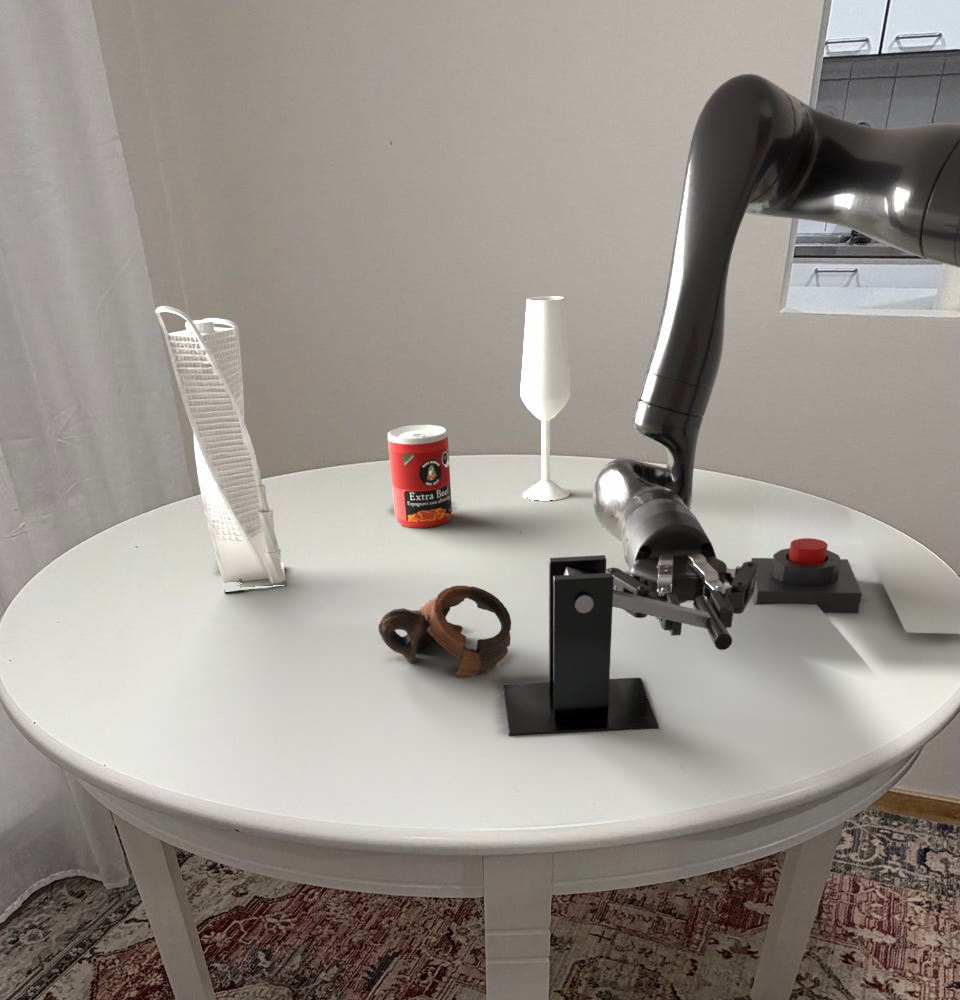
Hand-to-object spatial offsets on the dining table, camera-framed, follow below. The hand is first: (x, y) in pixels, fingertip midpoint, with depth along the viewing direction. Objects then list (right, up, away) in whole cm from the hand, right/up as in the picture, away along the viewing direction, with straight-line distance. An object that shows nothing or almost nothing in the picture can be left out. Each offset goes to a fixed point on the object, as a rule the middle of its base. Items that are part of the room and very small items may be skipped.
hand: (700, 623), depth 76 cm
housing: (+16, +9, +24) cm, 30 cm away
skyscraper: (-45, +14, +35) cm, 59 cm away
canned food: (-25, +26, +51) cm, 63 cm away
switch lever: (-5, 0, -1) cm, 5 cm away
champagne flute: (-8, +32, +58) cm, 67 cm away
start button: (+16, +12, +22) cm, 29 cm away
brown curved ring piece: (-21, -1, +13) cm, 25 cm away
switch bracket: (-9, -7, +4) cm, 12 cm away
